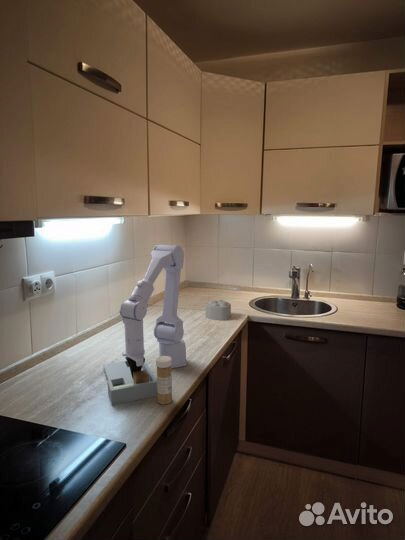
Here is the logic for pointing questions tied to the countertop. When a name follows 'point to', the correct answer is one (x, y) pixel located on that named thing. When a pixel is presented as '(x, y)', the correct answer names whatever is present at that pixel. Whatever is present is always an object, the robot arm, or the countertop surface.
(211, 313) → the lumpy-topped squat cylinder
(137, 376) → the block
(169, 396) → the sprinkles bottle
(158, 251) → the robot arm
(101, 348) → the countertop surface
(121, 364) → the grey pocketed tray
